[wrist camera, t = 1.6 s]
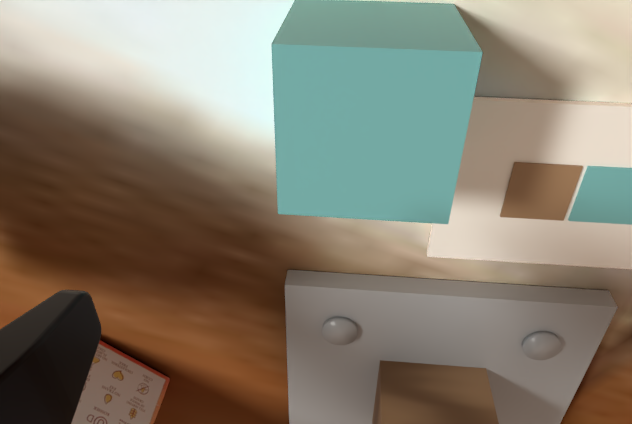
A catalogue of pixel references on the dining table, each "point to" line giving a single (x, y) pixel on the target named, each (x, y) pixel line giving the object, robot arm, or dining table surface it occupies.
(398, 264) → the dining table surface
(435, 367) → the walnut cube
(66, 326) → the robot arm
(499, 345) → the plate
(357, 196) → the teal cube
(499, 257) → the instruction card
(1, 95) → the dining table surface
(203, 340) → the dining table surface
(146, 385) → the cracker box
